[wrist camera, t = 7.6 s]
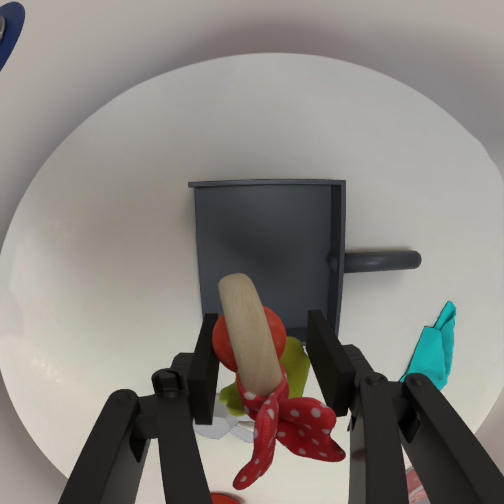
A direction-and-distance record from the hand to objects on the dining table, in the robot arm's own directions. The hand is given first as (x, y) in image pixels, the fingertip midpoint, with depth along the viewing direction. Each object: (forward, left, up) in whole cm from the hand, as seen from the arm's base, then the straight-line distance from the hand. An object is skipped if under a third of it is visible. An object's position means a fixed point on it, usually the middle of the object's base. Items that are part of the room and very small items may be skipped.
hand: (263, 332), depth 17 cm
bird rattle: (0, -1, -1) cm, 1 cm away
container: (+55, +38, -16) cm, 69 cm away
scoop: (0, +7, -16) cm, 18 cm away
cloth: (+21, +27, -16) cm, 38 cm away
